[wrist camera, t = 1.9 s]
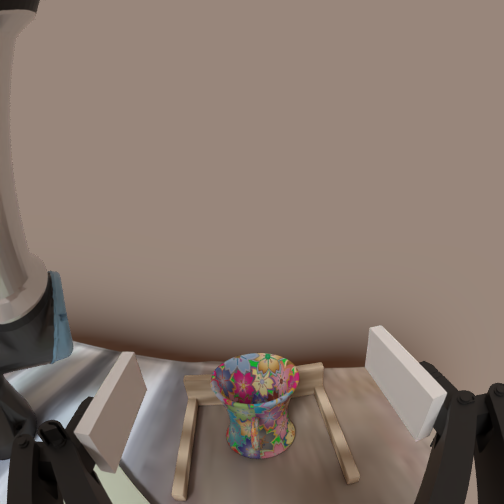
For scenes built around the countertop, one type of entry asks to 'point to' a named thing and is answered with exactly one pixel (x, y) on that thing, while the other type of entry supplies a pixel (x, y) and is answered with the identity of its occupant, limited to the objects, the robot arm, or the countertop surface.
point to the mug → (257, 402)
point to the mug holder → (203, 395)
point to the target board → (119, 487)
